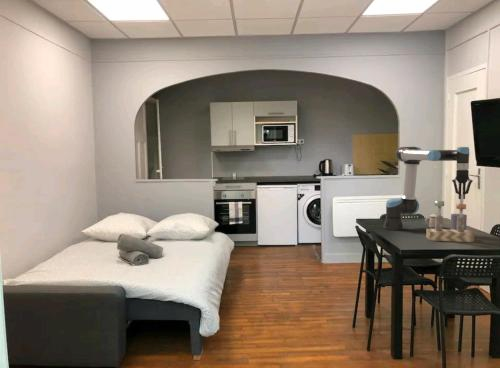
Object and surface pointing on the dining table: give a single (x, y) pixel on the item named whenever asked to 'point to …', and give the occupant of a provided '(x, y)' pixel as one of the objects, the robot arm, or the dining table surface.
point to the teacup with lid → (432, 220)
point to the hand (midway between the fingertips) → (461, 203)
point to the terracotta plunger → (461, 209)
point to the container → (454, 221)
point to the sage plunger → (439, 206)
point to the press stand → (450, 232)
